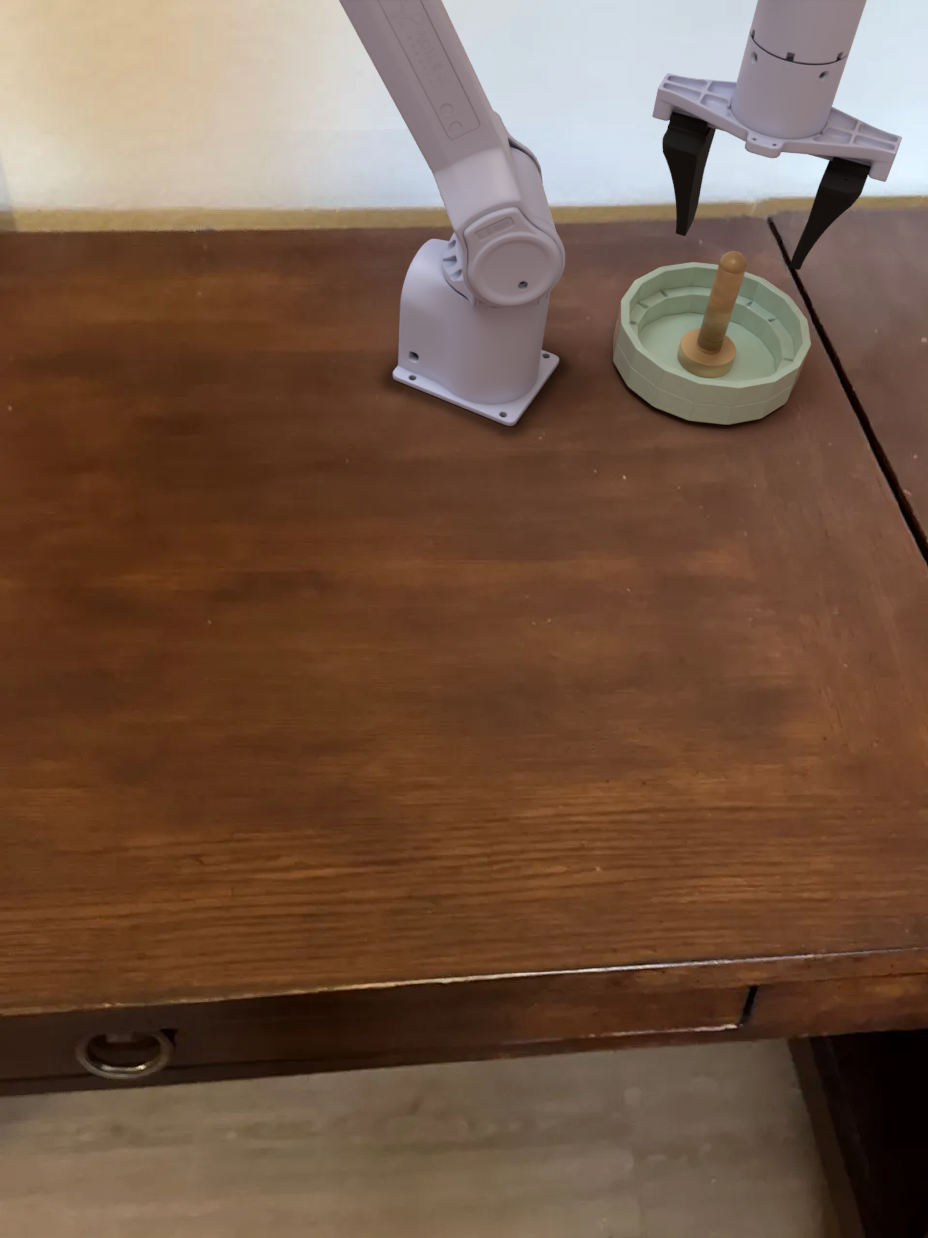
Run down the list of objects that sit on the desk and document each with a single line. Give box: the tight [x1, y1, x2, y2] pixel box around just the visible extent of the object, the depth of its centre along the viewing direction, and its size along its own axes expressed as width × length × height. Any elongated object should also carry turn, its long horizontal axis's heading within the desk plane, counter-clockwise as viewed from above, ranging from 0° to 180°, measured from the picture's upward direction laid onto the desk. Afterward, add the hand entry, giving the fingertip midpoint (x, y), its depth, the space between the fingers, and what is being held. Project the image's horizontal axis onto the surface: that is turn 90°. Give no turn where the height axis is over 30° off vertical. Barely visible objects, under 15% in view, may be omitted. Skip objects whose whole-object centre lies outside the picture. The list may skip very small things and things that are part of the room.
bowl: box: [612, 261, 812, 426], centre depth 86 cm, size 13×13×4 cm
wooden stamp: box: [677, 250, 747, 378], centre depth 83 cm, size 4×4×9 cm
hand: (740, 243), depth 79 cm, fingers open, 7 cm apart
